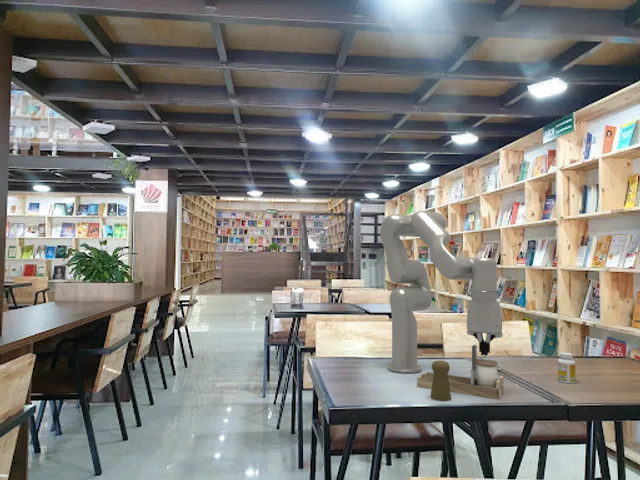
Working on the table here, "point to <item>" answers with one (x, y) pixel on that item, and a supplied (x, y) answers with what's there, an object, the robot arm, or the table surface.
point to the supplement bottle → (566, 368)
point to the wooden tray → (464, 385)
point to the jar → (486, 373)
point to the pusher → (474, 365)
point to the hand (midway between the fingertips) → (484, 354)
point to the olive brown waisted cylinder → (440, 381)
